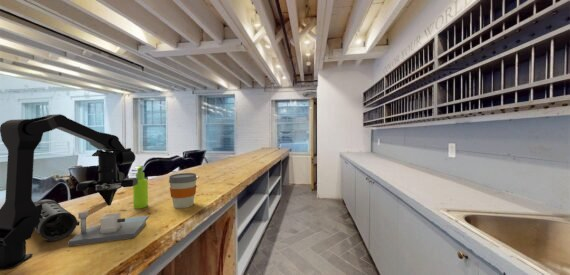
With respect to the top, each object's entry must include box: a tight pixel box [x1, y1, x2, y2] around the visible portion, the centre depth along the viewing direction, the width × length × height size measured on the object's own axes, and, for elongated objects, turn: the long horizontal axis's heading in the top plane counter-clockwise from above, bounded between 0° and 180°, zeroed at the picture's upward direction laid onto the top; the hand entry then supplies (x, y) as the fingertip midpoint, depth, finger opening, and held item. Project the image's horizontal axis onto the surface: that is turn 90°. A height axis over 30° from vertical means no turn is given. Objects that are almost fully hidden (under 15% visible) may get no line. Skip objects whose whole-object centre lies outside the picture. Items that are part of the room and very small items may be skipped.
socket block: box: [67, 218, 147, 247], centre depth 77 cm, size 12×18×6 cm, turn 106°
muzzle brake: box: [34, 199, 81, 241], centre depth 82 cm, size 10×28×10 cm
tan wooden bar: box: [78, 199, 108, 220], centre depth 81 cm, size 2×15×2 cm, turn 13°
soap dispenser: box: [132, 165, 149, 209], centre depth 107 cm, size 6×7×20 cm
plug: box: [100, 212, 126, 233], centre depth 78 cm, size 5×6×6 cm
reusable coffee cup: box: [168, 172, 198, 209], centre depth 109 cm, size 13×13×15 cm
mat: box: [121, 215, 149, 223], centre depth 89 cm, size 8×8×1 cm
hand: (109, 205), depth 88 cm, fingers closed
